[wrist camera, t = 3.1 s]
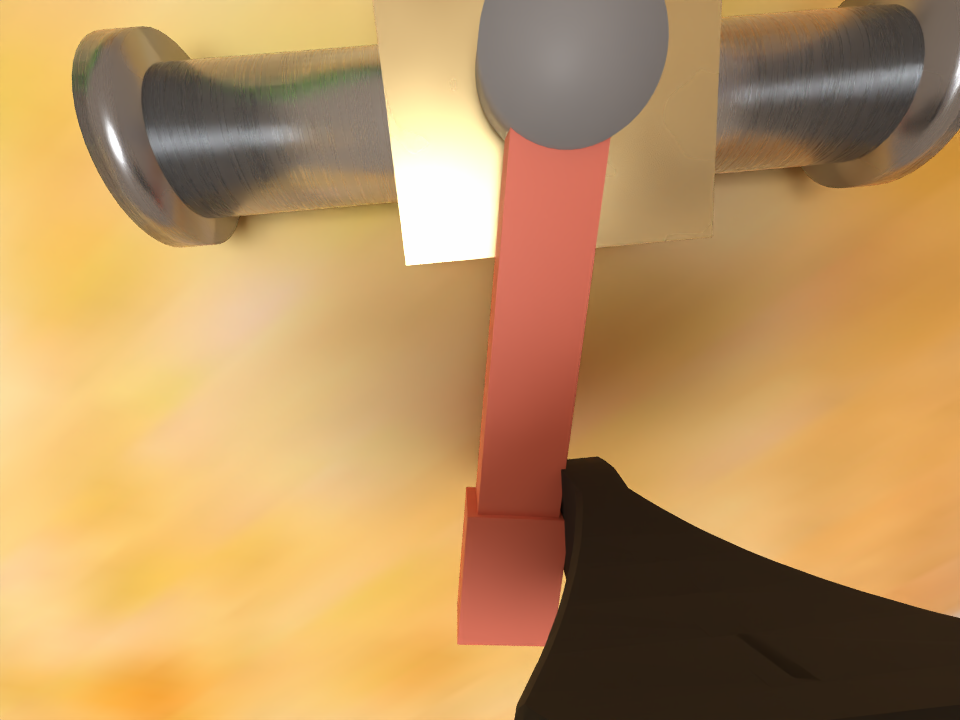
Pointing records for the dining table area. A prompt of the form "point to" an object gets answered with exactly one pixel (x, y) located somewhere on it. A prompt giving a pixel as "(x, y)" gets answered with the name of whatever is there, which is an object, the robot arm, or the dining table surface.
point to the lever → (542, 283)
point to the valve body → (479, 148)
